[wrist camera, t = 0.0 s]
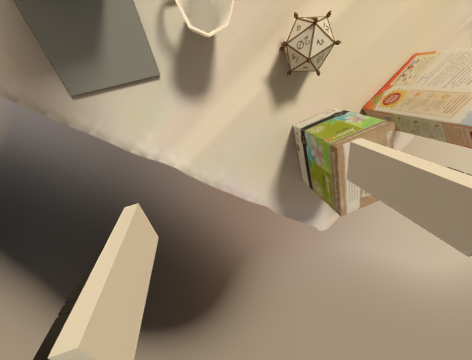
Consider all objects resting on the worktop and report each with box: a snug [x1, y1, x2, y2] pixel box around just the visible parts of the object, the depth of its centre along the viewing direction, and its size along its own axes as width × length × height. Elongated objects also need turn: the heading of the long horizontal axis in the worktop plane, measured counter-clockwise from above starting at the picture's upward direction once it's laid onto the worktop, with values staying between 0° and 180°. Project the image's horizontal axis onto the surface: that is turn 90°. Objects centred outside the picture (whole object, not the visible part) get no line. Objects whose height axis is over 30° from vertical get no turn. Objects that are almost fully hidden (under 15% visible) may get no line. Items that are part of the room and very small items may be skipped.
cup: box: [175, 0, 235, 37], centre depth 25 cm, size 7×10×8 cm
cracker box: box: [363, 47, 472, 148], centre depth 32 cm, size 14×6×21 cm, turn 139°
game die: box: [280, 11, 341, 76], centre depth 30 cm, size 9×8×10 cm
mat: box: [14, 0, 160, 96], centre depth 26 cm, size 20×14×1 cm
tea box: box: [293, 108, 395, 216], centre depth 38 cm, size 15×10×15 cm, turn 20°
